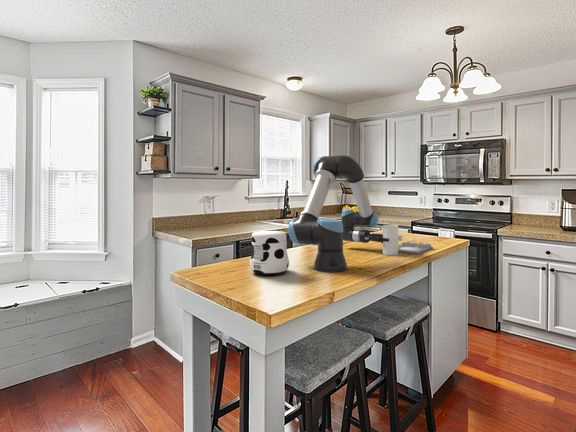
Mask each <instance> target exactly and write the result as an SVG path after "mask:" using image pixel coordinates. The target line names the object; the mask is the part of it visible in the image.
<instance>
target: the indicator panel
mask: <svg viewBox="0 0 576 432" xmlns="http://www.w3.org/2000/svg"><path fill="white" fill-rule="evenodd" d="M433 249H434V246H432V245H431V243H428V242H424V243H422V242H420V241H418V242H415V241H414V240H413V241H410V242H409V241H408V240H405V241H401V244H398V254H399V253H400V254H407V255H415V256H416V255H417V256H419V255H420V254H423V253H425V252H428V251H430V250H433Z"/></svg>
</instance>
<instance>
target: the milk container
mask: <svg viewBox="0 0 576 432" xmlns="http://www.w3.org/2000/svg"><path fill="white" fill-rule="evenodd" d="M287 243H288V242H287V232H286V231H282V230H280V231H279V230H260V231H254V232H252V234H251V256H250V260H249V264H250V266H249V267H250V270H251V272H253V273H254V274H257V275H261V276H262V275H263V276H271V275H272V276H276V275H280V274H283V273H285V272H287V271H288V269H289V266H290V259H289V255H288V250H287V249H288V248H287Z"/></svg>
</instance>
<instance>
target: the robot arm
mask: <svg viewBox="0 0 576 432" xmlns="http://www.w3.org/2000/svg"><path fill="white" fill-rule="evenodd" d="M312 173H313V176H314V178H315V179H314V182H313V185H312V188H311V190H310V191H309V192H310V193H309V195H308V198H307V200H306V203H305V206H304V208H303V210H302V212H300V213H298V214H297V216H296V219H291V220H290V222H289V224H288V236H289V239H290V240H291V242H293V243H294V244H299V245H311V246H312V245H313V246H317V254H316V257H315V260H314V263H313V265H314V266H313V269H314V270H315V271H318V272H323V273H340V272H344V271H346V270H347V269H348V263H347V261H346V257H345V254H344V242H351V243H352V242H354V243H357V244H358V243H364V244H368V243H369V242H377V243H381V244H383V241H384V242H389V243H395V238H390V237H384V238H383V233H374V232H373V233H371V231H370V230H367V229H357V228H355V226H366V227H367V226H368V227H376V226H378V224H379V222H380V220H379V218H380V217H379V214H378V213H376V212H373V209H372V205H371V202H370V199H369V195H368V190H367V188H366V184H365V180H364V178H365V173H364V171H363V169H362V167H361V165H360V163H358V162H357V160H356V159H354V158H353V157H351V156H349V155H345V154H342V155H327V156H326V155H324V156H319V157H317V158H316V159H315V161H314V163H313V169H312ZM338 178H344V179H345V180H346V183H348V184H349V186H350V189H351V193H352V195H353V198H354V199H353V200H354V201H355V205H356V208H357V210H358V212H355V210H354V209H352V208H346V209H342V210H341V216H340V217H341V219H337V218H332V217H320V215H321V213H322V211H323V207H324V205H325V203H326V202H325V201H326V200H327V197H328V195H329V194H328V193H329V191H330V188H331V186H332V185H333V184H335V182H336V180H337V179H338ZM398 242H403V236H402V235H398Z"/></svg>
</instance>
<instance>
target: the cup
mask: <svg viewBox="0 0 576 432" xmlns="http://www.w3.org/2000/svg"><path fill="white" fill-rule="evenodd" d="M382 234H383V238H384V237H390V238H395V243H389V242H384V241H383V243H382V254H383V255H387V256H397V255H399V253H398V246H399V241H398V236H399V225H397V224H383V225H382Z"/></svg>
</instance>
